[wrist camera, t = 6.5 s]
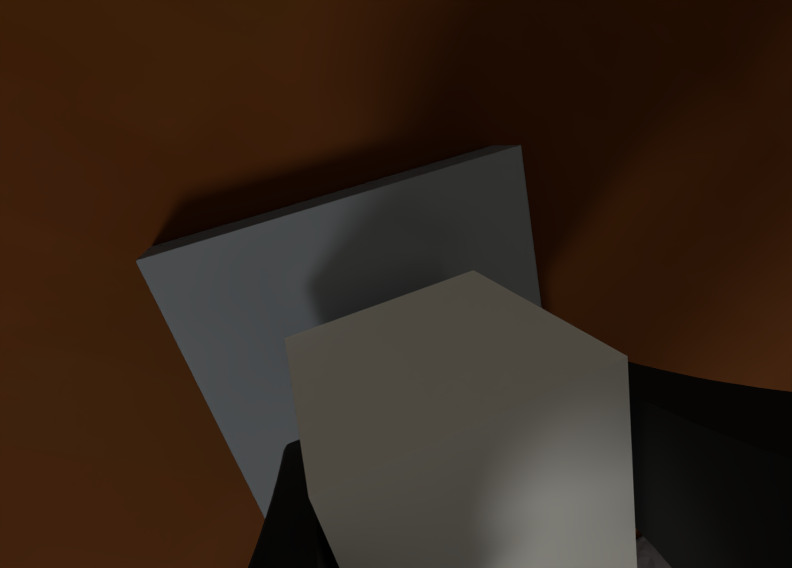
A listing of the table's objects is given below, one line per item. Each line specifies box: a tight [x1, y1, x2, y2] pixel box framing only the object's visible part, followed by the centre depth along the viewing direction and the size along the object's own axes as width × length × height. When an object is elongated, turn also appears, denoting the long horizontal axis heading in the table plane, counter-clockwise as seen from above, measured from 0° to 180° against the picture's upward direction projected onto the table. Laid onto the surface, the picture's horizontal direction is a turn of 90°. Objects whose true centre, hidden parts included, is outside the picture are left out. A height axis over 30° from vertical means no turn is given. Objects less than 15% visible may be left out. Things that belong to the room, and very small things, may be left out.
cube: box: [285, 270, 637, 568], centre depth 9 cm, size 5×5×5 cm
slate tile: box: [136, 145, 541, 518], centre depth 13 cm, size 10×10×2 cm
